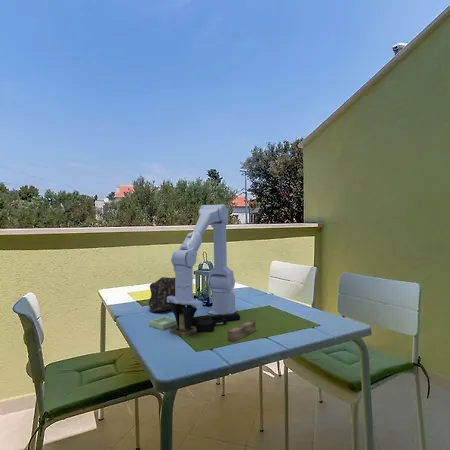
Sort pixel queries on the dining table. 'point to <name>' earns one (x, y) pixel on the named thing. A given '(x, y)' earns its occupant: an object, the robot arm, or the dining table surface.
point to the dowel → (182, 323)
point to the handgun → (213, 321)
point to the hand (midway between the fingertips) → (184, 326)
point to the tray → (163, 323)
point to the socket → (183, 334)
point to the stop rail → (241, 331)
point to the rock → (161, 294)
